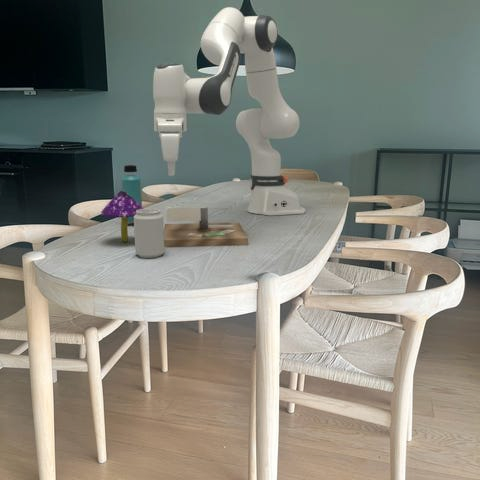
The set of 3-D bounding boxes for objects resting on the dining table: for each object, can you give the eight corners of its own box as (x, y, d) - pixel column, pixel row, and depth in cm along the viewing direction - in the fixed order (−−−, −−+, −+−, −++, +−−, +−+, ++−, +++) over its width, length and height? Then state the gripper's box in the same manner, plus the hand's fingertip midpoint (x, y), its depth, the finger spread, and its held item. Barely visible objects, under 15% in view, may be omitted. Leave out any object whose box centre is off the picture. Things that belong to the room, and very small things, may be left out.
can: (137, 251, 129) (135, 207, 127) (165, 251, 130) (164, 207, 127) (133, 259, 122) (131, 212, 119) (163, 258, 123) (161, 212, 120)
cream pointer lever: (232, 227, 149) (232, 206, 147) (233, 229, 146) (233, 207, 145) (167, 228, 147) (166, 207, 145) (167, 230, 144) (166, 208, 142)
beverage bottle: (146, 223, 166) (144, 164, 161) (136, 227, 160) (133, 166, 155) (130, 222, 168) (127, 164, 163) (119, 225, 162) (116, 165, 157)
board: (239, 228, 158) (239, 221, 158) (248, 244, 137) (248, 237, 136) (165, 230, 155) (164, 223, 155) (162, 247, 134) (162, 239, 134)
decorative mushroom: (125, 249, 131) (122, 195, 128) (93, 243, 138) (89, 191, 134) (156, 240, 142) (154, 189, 138) (125, 235, 148) (122, 186, 144)
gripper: (160, 124, 142) (161, 172, 145) (157, 124, 122) (158, 179, 126) (181, 125, 143) (182, 172, 146) (182, 125, 123) (183, 179, 126)
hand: (171, 175), depth 136 cm, fingers closed
